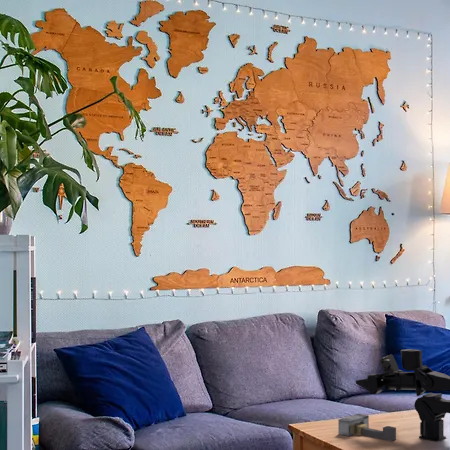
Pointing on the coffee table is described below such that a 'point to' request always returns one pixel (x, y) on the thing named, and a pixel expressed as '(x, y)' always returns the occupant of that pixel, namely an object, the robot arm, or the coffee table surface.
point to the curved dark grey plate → (351, 423)
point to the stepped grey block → (381, 433)
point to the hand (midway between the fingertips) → (362, 380)
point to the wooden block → (359, 428)
